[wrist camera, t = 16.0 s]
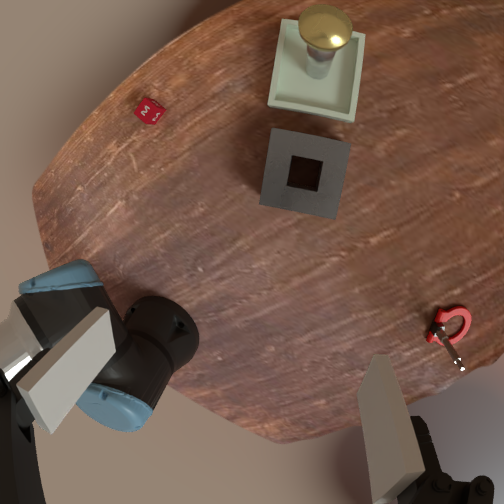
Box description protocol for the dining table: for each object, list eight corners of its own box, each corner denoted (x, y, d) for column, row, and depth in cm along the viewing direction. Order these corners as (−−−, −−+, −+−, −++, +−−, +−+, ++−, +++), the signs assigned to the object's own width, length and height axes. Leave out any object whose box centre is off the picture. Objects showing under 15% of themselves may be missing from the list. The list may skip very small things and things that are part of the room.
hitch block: (263, 197, 43) (259, 204, 38) (275, 130, 39) (271, 127, 34) (331, 211, 42) (335, 219, 37) (345, 144, 38) (350, 143, 33)
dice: (153, 99, 40) (144, 97, 37) (166, 109, 40) (157, 107, 38) (142, 114, 41) (133, 113, 38) (155, 124, 41) (145, 124, 39)
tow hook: (474, 306, 43) (438, 303, 43) (508, 345, 31) (471, 347, 31) (458, 342, 46) (422, 342, 47) (485, 384, 34) (447, 389, 35)
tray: (269, 107, 38) (267, 104, 36) (283, 25, 33) (281, 18, 31) (350, 123, 37) (354, 121, 35) (362, 40, 32) (365, 34, 30)
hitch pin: (297, 81, 35) (294, 42, 20) (302, 51, 34) (301, 0, 19) (332, 88, 35) (350, 53, 20) (336, 58, 33) (354, 10, 18)
